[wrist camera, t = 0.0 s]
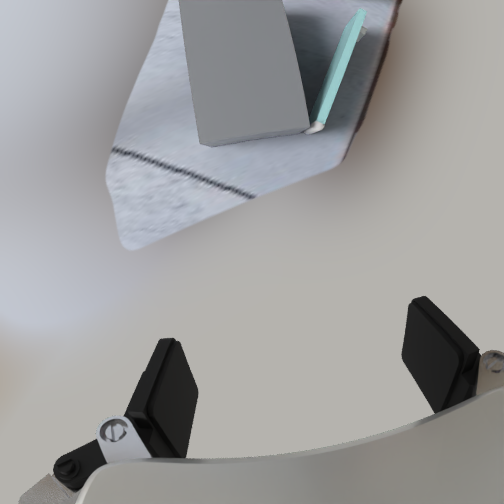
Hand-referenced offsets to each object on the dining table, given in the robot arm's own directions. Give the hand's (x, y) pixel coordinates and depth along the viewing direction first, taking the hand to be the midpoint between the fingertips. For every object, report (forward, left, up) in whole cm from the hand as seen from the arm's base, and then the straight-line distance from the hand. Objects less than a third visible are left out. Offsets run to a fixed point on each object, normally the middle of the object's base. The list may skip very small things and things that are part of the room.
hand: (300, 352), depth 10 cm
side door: (-18, +12, -30) cm, 37 cm away
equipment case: (-20, 0, -31) cm, 37 cm away
